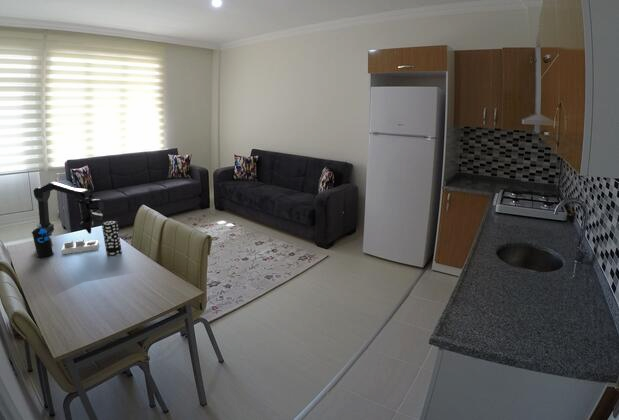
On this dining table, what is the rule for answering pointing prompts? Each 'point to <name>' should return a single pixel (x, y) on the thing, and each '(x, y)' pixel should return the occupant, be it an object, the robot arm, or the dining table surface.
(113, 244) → the spotted tube
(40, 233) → the aerosol can
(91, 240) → the key far
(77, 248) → the keypad
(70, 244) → the key near
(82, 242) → the key middle
